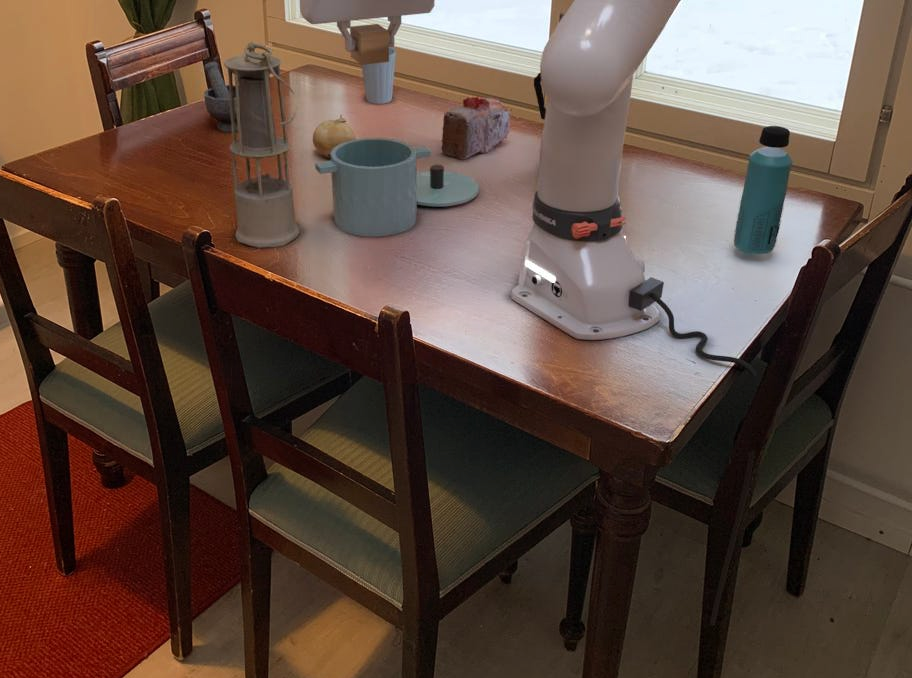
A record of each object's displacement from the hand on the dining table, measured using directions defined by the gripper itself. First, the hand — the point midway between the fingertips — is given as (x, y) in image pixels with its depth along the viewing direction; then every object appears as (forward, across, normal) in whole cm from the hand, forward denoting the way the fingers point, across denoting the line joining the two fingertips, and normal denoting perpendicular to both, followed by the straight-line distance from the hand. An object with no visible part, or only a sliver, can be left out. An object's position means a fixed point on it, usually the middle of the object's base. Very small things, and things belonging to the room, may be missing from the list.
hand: (369, 48), depth 151 cm
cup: (+28, -25, -58) cm, 69 cm away
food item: (+28, -30, -23) cm, 47 cm away
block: (+2, 0, 0) cm, 2 cm away
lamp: (+28, +17, -1) cm, 33 cm away
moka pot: (+28, -42, -6) cm, 50 cm away
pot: (+28, 0, 0) cm, 28 cm away
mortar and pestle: (+28, +9, -55) cm, 63 cm away
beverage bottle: (+28, -50, +36) cm, 67 cm away
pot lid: (+27, -15, -6) cm, 31 cm away
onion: (+28, -5, -31) cm, 42 cm away
